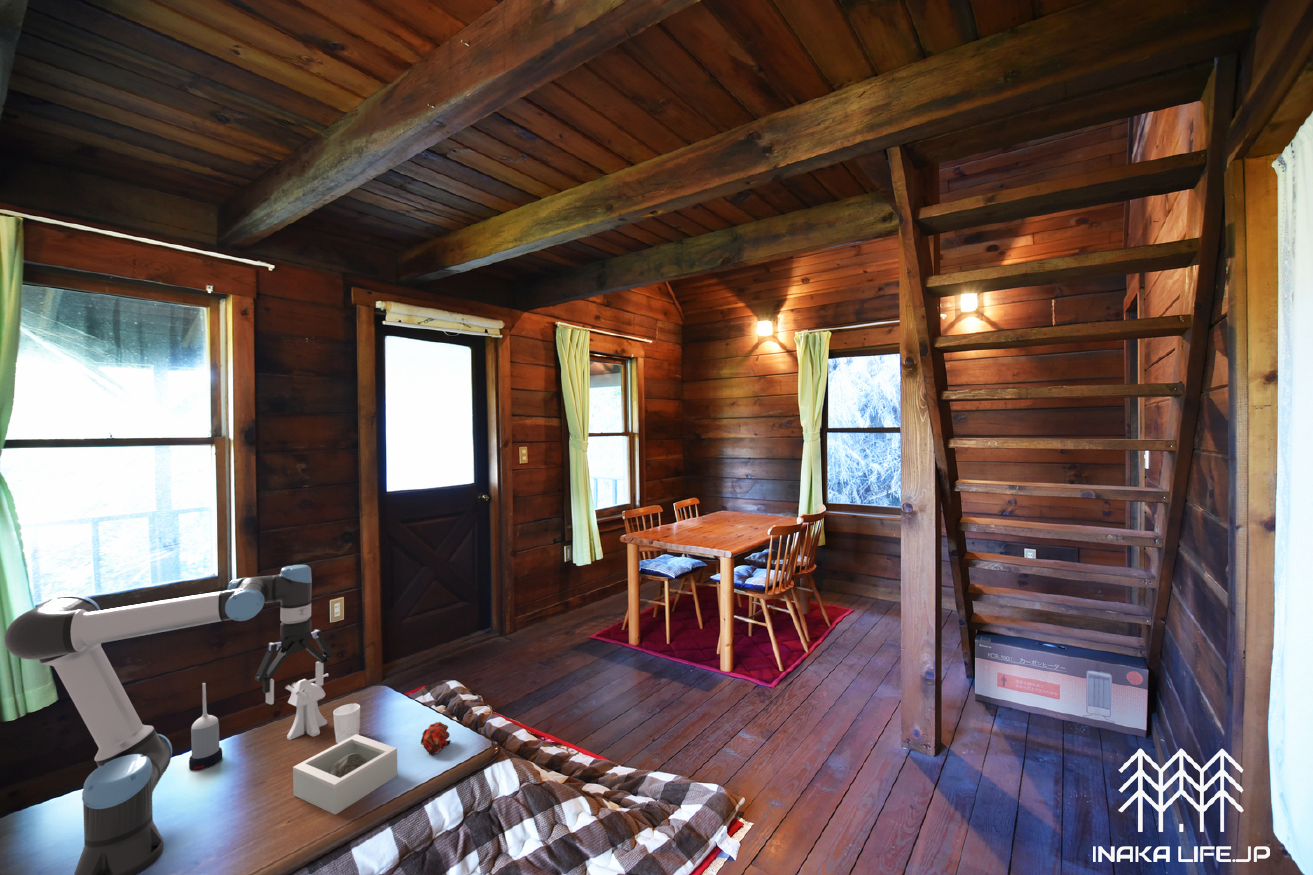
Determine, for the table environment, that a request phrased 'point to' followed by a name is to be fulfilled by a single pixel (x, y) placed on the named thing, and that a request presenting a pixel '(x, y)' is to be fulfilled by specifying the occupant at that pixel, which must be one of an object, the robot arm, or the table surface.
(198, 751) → the humidifier
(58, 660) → the robot arm
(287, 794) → the table surface
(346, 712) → the white cup
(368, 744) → the box
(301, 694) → the toy gun turret
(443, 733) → the dragon fruit
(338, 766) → the fossil
